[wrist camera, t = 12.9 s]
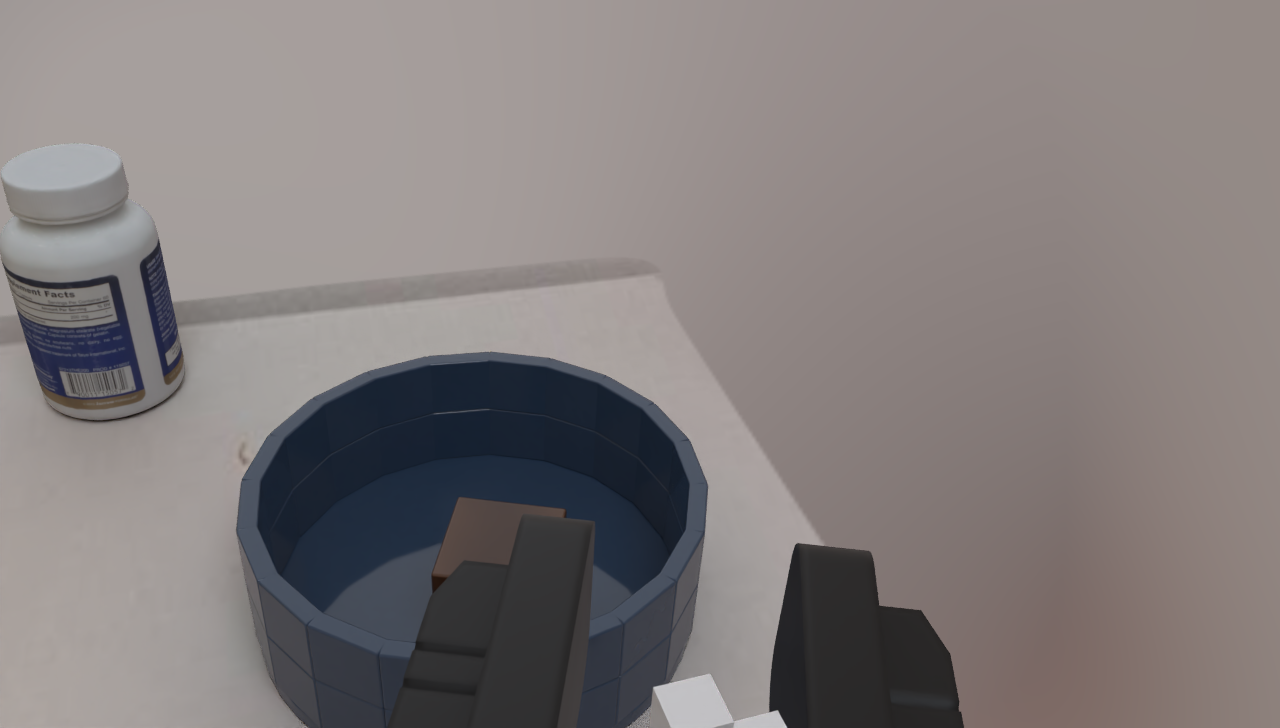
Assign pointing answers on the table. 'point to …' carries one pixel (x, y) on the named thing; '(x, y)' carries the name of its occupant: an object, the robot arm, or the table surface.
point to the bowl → (422, 508)
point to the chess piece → (700, 707)
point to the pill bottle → (89, 283)
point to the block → (482, 533)
